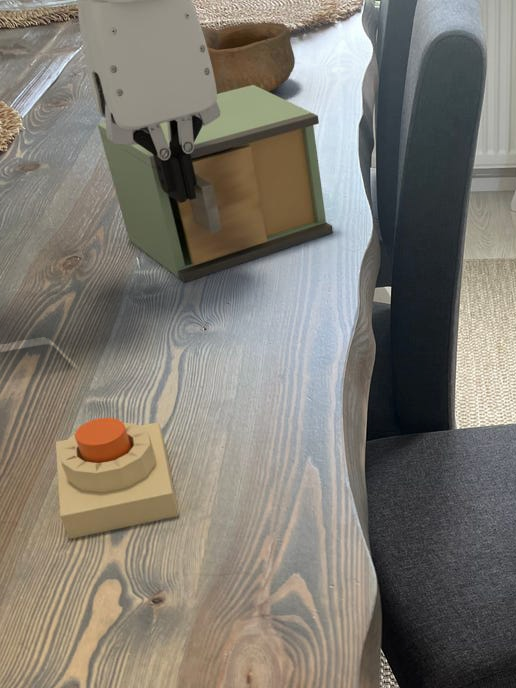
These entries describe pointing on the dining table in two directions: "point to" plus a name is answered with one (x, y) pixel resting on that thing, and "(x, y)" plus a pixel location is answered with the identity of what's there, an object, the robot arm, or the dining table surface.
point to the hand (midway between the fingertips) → (181, 196)
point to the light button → (102, 440)
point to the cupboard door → (223, 206)
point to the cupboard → (271, 174)
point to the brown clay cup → (250, 55)
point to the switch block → (116, 485)
